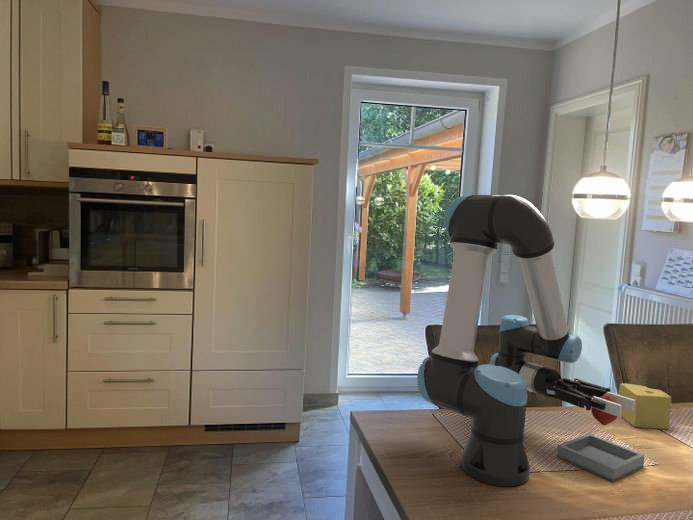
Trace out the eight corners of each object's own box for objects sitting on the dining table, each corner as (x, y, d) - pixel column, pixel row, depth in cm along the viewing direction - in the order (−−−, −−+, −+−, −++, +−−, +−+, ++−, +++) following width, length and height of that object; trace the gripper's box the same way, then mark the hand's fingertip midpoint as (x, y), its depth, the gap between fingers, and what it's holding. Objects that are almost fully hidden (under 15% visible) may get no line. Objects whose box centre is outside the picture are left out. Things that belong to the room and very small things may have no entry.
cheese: (651, 416, 156) (654, 385, 155) (670, 431, 146) (674, 397, 145) (616, 414, 157) (619, 382, 156) (633, 428, 146) (636, 394, 146)
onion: (591, 427, 122) (593, 395, 121) (589, 418, 127) (591, 387, 127) (618, 431, 120) (621, 399, 119) (615, 422, 125) (618, 391, 125)
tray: (613, 482, 115) (614, 469, 114) (557, 456, 126) (557, 445, 126) (643, 467, 122) (644, 455, 122) (587, 444, 134) (588, 433, 134)
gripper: (559, 387, 144) (645, 415, 125) (518, 399, 133) (605, 432, 114) (561, 361, 143) (648, 386, 124) (519, 371, 132) (607, 400, 113)
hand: (627, 408), depth 119 cm, fingers closed on onion, 6 cm apart
